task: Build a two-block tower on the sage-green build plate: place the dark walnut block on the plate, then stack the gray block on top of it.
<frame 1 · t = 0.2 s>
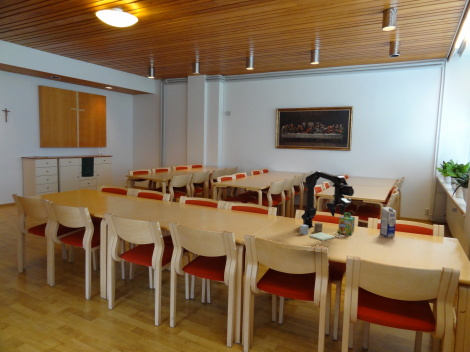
hand: (337, 215, 230), 14 cm above the table, fingers open, 9 cm apart
build plate: (322, 237, 228), on the table
milk carton: (387, 235, 232), on the table
gray block: (304, 233, 236), on the table
instruction sheet: (336, 235, 232), on the table
walnut block: (318, 231, 242), on the table
chalk box: (346, 232, 239), on the table
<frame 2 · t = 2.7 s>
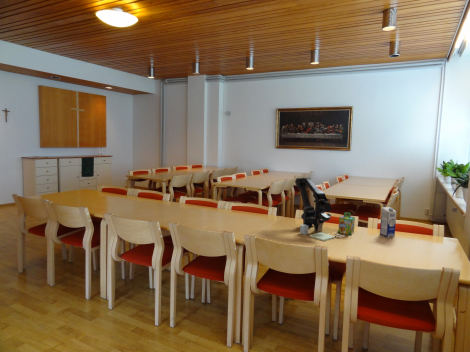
hand: (318, 229, 242), 1 cm above the table, fingers closed on walnut block, 4 cm apart
walnut block: (318, 231, 242), on the table, touching gripper
everything else where it was.
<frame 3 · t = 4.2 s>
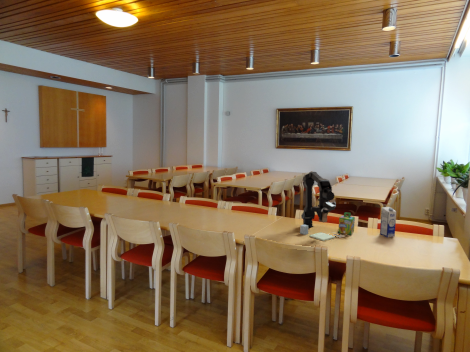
hand: (322, 220, 228), 12 cm above the table, fingers closed on walnut block, 4 cm apart
walnut block: (322, 221, 228), point 11 cm above the table, touching gripper
everything else where it was.
when the fingers open (3 cm above the table, at t = 6.1 s): walnut block stays where it is, resting on build plate.
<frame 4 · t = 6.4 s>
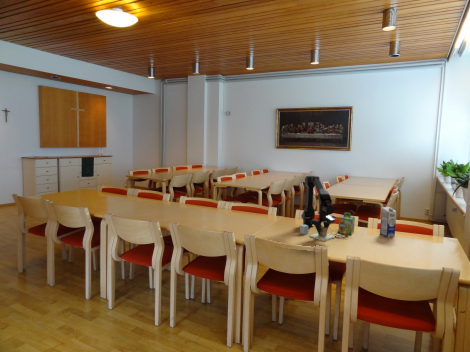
hand: (322, 233, 227), 3 cm above the table, fingers open, 7 cm apart
walnut block: (322, 235, 227), point 1 cm above the table, touching build plate
everything else where it was.
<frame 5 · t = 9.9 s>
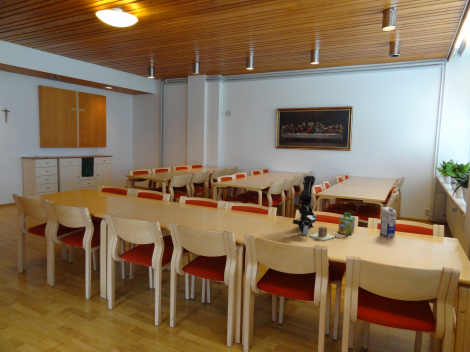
hand: (304, 232, 236), 1 cm above the table, fingers closed on gray block, 4 cm apart
gray block: (304, 233, 236), on the table, touching gripper
everything else where it was.
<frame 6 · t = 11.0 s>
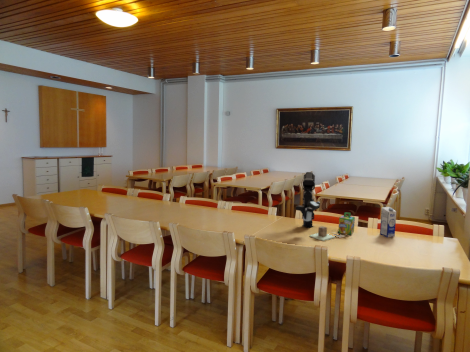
hand: (307, 218, 233), 11 cm above the table, fingers closed on gray block, 4 cm apart
gray block: (307, 220, 233), point 10 cm above the table, touching gripper
everything else where it was.
when the fingers open (9 cm above the table, at t = 12.3 s): gray block stays where it is, resting on walnut block.
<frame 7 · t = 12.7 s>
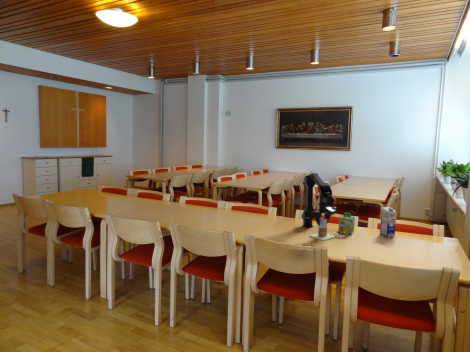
hand: (322, 224, 226), 9 cm above the table, fingers open, 8 cm apart
gray block: (322, 227, 227), point 7 cm above the table, touching walnut block
walnut block: (322, 235, 227), point 1 cm above the table, touching gray block, build plate
everything else where it was.
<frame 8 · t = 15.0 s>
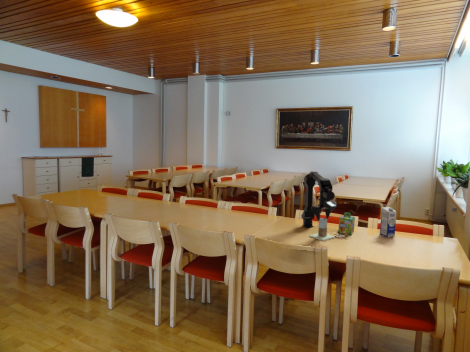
hand: (323, 219, 226), 12 cm above the table, fingers open, 9 cm apart
nothing on the table moved.
at the end: walnut block inside the target area on the build plate (0.0 cm from its centre), point 1.0 cm above the build plate's base; gray block 0.1 cm off-centre on the walnut block, point 6.0 cm above the walnut block's base; gray block tilted 0° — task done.
